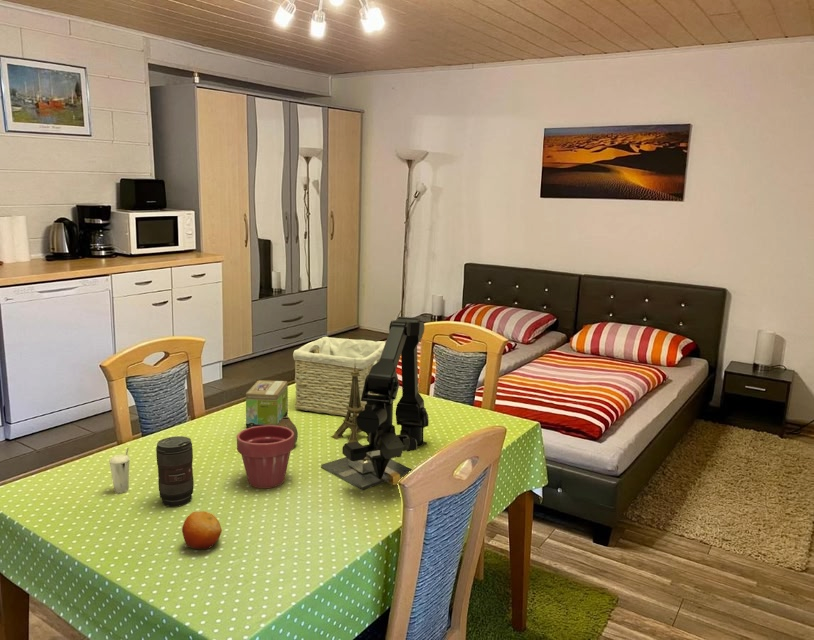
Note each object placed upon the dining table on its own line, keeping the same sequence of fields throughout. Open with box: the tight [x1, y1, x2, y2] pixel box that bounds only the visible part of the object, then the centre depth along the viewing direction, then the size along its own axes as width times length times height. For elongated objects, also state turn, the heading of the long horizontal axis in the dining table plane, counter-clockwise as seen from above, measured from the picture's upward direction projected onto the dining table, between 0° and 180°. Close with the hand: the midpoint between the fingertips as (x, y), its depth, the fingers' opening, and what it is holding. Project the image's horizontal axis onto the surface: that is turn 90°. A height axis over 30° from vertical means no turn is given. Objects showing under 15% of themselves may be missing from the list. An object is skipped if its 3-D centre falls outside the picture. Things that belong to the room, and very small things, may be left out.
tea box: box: [245, 380, 289, 429], centre depth 201 cm, size 15×10×15 cm
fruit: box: [181, 510, 223, 551], centre depth 136 cm, size 8×8×8 cm
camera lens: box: [155, 435, 195, 508], centre depth 155 cm, size 8×8×15 cm
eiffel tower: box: [330, 366, 369, 443], centre depth 196 cm, size 11×11×25 cm
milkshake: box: [109, 447, 130, 494], centre depth 160 cm, size 4×5×10 cm
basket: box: [292, 336, 386, 418], centre depth 228 cm, size 27×27×22 cm
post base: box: [320, 456, 413, 491], centre depth 175 cm, size 17×18×6 cm
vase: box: [277, 416, 299, 446], centre depth 190 cm, size 7×7×9 cm
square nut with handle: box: [348, 459, 401, 486], centre depth 171 cm, size 17×7×3 cm, turn 37°
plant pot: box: [236, 425, 295, 489], centre depth 167 cm, size 14×14×13 cm
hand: (379, 478), depth 166 cm, fingers closed
